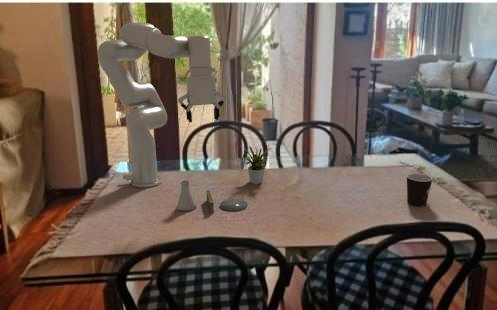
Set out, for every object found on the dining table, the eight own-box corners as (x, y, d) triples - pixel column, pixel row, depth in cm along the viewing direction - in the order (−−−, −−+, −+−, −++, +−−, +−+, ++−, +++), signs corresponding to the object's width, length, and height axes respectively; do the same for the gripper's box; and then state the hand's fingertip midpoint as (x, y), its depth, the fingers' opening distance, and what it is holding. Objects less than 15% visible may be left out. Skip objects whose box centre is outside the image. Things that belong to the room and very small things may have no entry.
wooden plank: (210, 213, 148) (209, 202, 147) (206, 200, 159) (206, 190, 158) (213, 213, 148) (213, 202, 147) (210, 200, 160) (209, 190, 158)
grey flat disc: (222, 212, 149) (221, 210, 149) (218, 201, 158) (218, 200, 158) (249, 209, 151) (249, 208, 150) (244, 199, 160) (244, 197, 160)
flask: (192, 212, 149) (191, 185, 146) (173, 211, 150) (171, 184, 148) (199, 204, 156) (197, 178, 153) (180, 203, 157) (178, 177, 154)
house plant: (230, 185, 175) (229, 147, 170) (243, 174, 187) (243, 138, 182) (263, 189, 170) (263, 150, 165) (274, 178, 182) (274, 141, 177)
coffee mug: (417, 209, 149) (420, 182, 146) (399, 201, 156) (401, 175, 154) (440, 203, 154) (443, 177, 151) (421, 195, 162) (424, 170, 159)
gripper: (221, 70, 154) (223, 116, 159) (174, 72, 149) (177, 120, 153) (227, 71, 147) (229, 120, 152) (177, 74, 142) (181, 124, 146)
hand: (203, 120), depth 153 cm, fingers open, 9 cm apart
